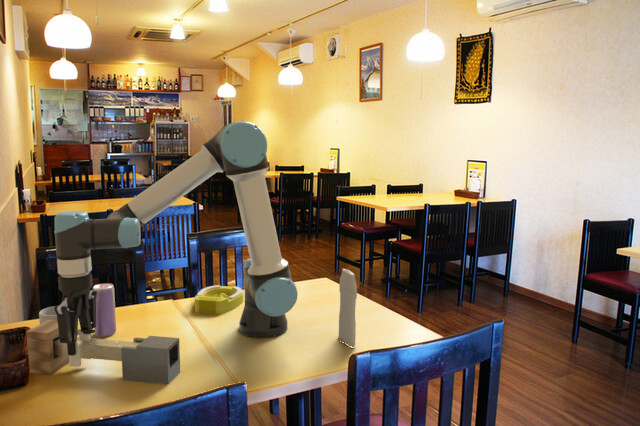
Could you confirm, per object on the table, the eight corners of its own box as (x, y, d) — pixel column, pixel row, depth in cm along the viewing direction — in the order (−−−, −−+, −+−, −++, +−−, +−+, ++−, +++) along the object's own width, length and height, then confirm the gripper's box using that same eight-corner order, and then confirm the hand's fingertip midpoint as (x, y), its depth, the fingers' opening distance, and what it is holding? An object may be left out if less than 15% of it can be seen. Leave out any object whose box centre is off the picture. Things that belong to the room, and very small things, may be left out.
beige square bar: (164, 358, 120) (163, 344, 119) (157, 364, 116) (156, 350, 116) (64, 349, 124) (63, 335, 124) (54, 355, 121) (53, 341, 120)
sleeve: (180, 372, 121) (179, 338, 120) (168, 384, 115) (167, 348, 114) (136, 368, 123) (135, 334, 122) (122, 380, 117) (121, 344, 116)
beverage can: (108, 338, 141) (105, 289, 139) (90, 336, 143) (87, 288, 140) (120, 330, 147) (118, 284, 145) (103, 329, 148) (100, 282, 146)
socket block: (72, 360, 127) (69, 321, 125) (51, 374, 119) (48, 333, 118) (52, 358, 128) (49, 319, 126) (29, 372, 120) (26, 331, 118)
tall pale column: (333, 335, 146) (334, 266, 142) (345, 334, 147) (347, 265, 144) (347, 350, 136) (349, 275, 133) (360, 348, 137) (362, 274, 134)
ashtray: (184, 312, 164) (184, 298, 164) (208, 294, 185) (208, 281, 184) (230, 316, 162) (230, 302, 161) (249, 297, 182) (249, 284, 181)
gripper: (82, 264, 127) (88, 347, 131) (36, 282, 111) (44, 376, 114) (108, 265, 126) (113, 349, 130) (65, 284, 110) (72, 378, 113)
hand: (80, 361), depth 122 cm, fingers closed on beige square bar, 4 cm apart
